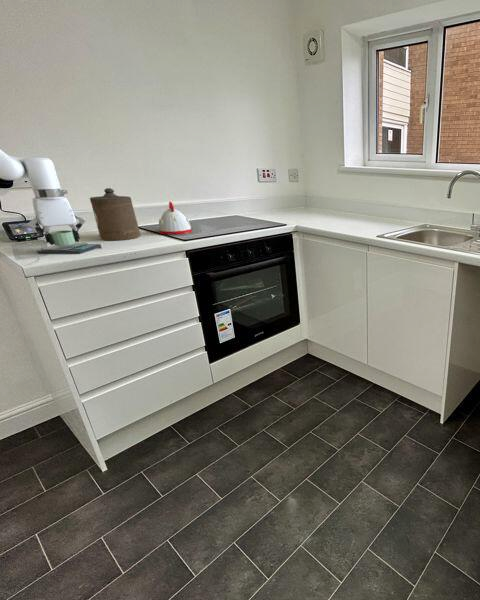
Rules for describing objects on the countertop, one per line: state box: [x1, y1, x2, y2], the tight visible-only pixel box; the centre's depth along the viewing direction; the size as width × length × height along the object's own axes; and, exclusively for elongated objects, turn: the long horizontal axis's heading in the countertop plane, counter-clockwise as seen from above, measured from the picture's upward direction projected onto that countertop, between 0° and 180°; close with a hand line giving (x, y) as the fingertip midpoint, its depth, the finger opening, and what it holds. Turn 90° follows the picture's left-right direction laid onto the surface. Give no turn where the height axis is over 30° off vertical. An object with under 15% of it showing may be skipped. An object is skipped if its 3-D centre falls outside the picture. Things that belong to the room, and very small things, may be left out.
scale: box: [36, 242, 102, 255], centre depth 134 cm, size 14×12×3 cm
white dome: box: [158, 201, 193, 236], centre depth 176 cm, size 14×14×15 cm
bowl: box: [49, 230, 77, 246], centre depth 132 cm, size 6×6×5 cm
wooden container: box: [89, 187, 141, 241], centre depth 159 cm, size 15×15×22 cm
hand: (64, 242), depth 133 cm, fingers closed on bowl, 6 cm apart
